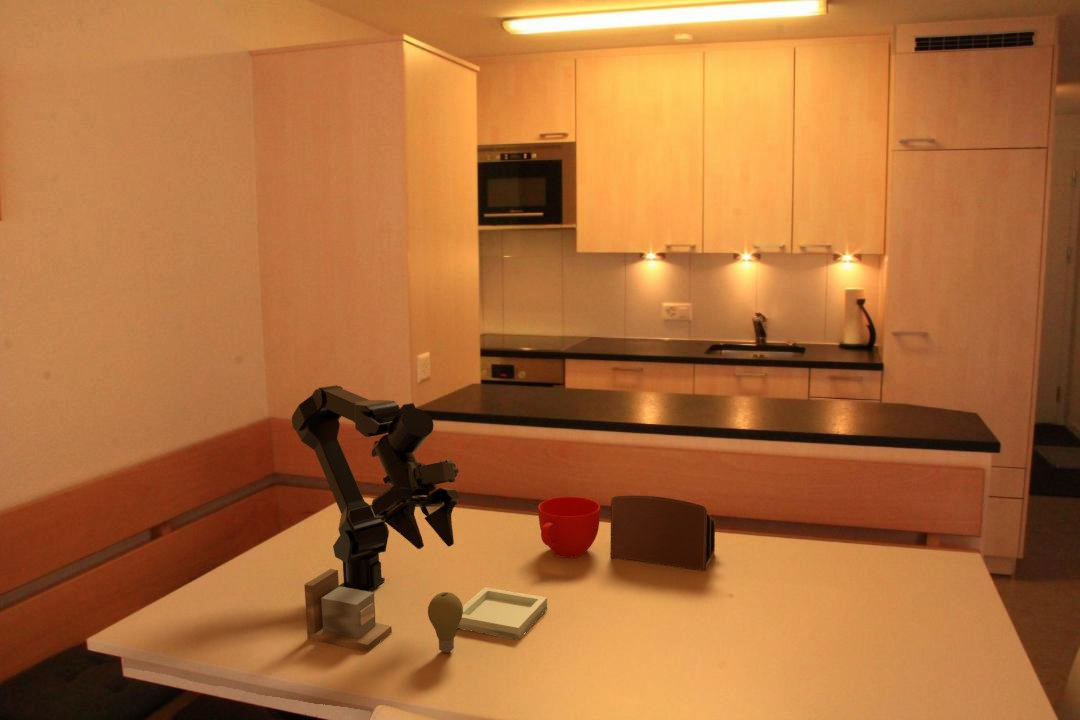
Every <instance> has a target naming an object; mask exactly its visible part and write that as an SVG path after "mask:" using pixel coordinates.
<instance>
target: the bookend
mask: <svg viewBox="0 0 1080 720" xmlns="http://www.w3.org/2000/svg"><path fill="white" fill-rule="evenodd" d="M339 580H340V579H339V570H338V569H333V568H330V569H327V570H325V572H323V573H320V574H319V575H318V576H316V577H314V578H312V579H311V580H309V581H308V582H306V583H304V586H303V587H304V604H305V616H306V617H305V619H306V632H307V633H306V635H307V640H310V641H315V642H320V643H326V644H330V645H335V646H340V647H345V648H349V649H353V650H358V651H363V652H367V653H368V652H369V651H371V650H372V649H374V647H376V646H377V645H378V644H380V643H381V642H383V640H385V639H386V638H388V637H389V636H390V635H391V634H392V631H393V630H392V628H393V627H392V625H389V624H383V623H377V622H376V608H375V607H376V606H375V592H373V591H369V592H368V591H363V590H357V589H352V588H346V587H341V586H339V585H340V583H339ZM390 633H391V634H390ZM385 637H386V638H385ZM380 641H381V642H380ZM379 642H380V643H379Z"/></svg>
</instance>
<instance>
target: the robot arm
mask: <svg viewBox="0 0 1080 720" xmlns="http://www.w3.org/2000/svg"><path fill="white" fill-rule="evenodd" d="M341 417H343V418H345V419H347V420H349V421H351V422H353V423H354V428H355V430H356V431H358V432H359V433H360V434H362V436H364V437H365V438H373V437H378V436H381V435H383V436H381V437H380V439H379V440H375V441H374V443H373V448H372V449H371V457H372V458H374V457H378V459H379V461H380V463H381V467H382V468H383V470H384V472H385V474H386V476H385V477H383V478H382V481H383V482H384V484H385V485H390V487H388V489H386V490H385V491H384V492H382V493H381V494H379V495H378V496H376V497H375V498H374V499H372V501H371V504H370V503H368V502H367V501H365V499H364V496H363V494H362V492H361V490H360V487H359V486H358V482H357V480H356V478H355V476H354V474H353V472H352V469H351V467H350V464H349V462H348V460H347V457H346V456H345V453H344V451H343V448H342V445H341V444H340V442H339V439H338V436H339V431H340V426H341V423H340V419H341ZM291 423H292V428H293V430H294V431H295V432H296V433H297V435H298V437H299V439H300V441H301V442H302V443H303V444H305V445H306V446H308V447H309V448H311V449H312V450H314V451H313V452H314V453H315V454H316V458H317V459H318V463H319V464H320V467H321V469H322V471H323V473H324V476H325V478H326V479H325V480H327V483H328V485H329V489H330V491H331V493H332V496H333V497H334V500H335V503H336V504H337V507H338V510H339V512H340V519H339V524H338V525H339V526H338V528H337V529H338V532H339V536H338V537H337V539H336V541H335V543H334V544H333V546H332V548H333V553H334V557H335V558H337V559H338V560H340V561H341V562H342V574H343V582H342V583H341V584H340V583H339V586H341V587H346V588H352V589H357V590H363V591H368V592H372V591H373V590H374V589H375V588H377V587H378V586H380V585H381V584H383V582H385V581H386V579H385V577H382V562H381V561H380V554H381V553H386V552H387V546H388V541H389V535H390V531H389V527H390V528H392V529H393V530H395V531H396V533H397V532H398V533H399V534H400V536H402V537H403V538H404V539H405V540H407V542H409V543H410V544H411V545H413V546H414V547H415V548H416V549H417V550H420V549H422V548H424V546H425V545H424V540H423V537H422V535H421V531H420V529H419V524H418V522H417V519H416V516H415V510H416V508H420V511H421V512H422V514H423V515H424V516H425V517H424V520H425V521H426V522H427V523H428V525H429V526H430V527H431V529H432V530H433V531H434V532H435V533H436V534H437V535H438V537H439V538H440V539H441V541H442V542H444V544H445V545H446V546H447V547H452V546H453V545H454V544H455V540H454V531H453V522H452V513H453V511H454V508H455V507H456V506H457V505H458V502H459V501H460V499H461V498H460V496H459V494H458V492H457V490H456V489H453V488H451V487H439V488H438V486H437V485H440V484H445V483H455V482H456V477H457V475H458V473H459V468H457V467H456V463H454V462H453V460H451V459H446V460H440V461H439V462H435V463H429V464H425V463H423V462H418V460H417V458H416V455H415V454H414V453H415V452H416V451H417V450H418V449H419V448H420V447H421V446H422V444H423V443H424V442H425V441H426V440H427V438H428V437H429V436H430V435H431V434H432V432H433V431H434V426H435V425H434V421H433V418H432V417H431V415H429V414H428V413H427V412H426V411H424V410H422V409H420V408H417V407H416V406H415V404H414V402H409V403H405V404H402V405H401V407H400V405H399V403H397V402H396V401H395V400H388V399H387V400H386V399H369V398H366V397H363V396H360V395H358V394H356V393H355V392H351V391H348V390H346V389H344V388H343V387H342V386H341V385H337V384H335V385H334V384H333V385H328V386H327V385H326V386H320V387H318V388H317V389H315V390H314V391H313V393H312V394H311V396H309V397H307V398H306V399H305V400H303V401H302V402H301V403H299V404H298V405H297V407H296V408H295V411H294V412H293V414H292V417H291ZM434 490H435V491H434ZM430 492H432V493H430ZM388 526H389V527H388Z"/></svg>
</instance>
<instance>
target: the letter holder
mask: <svg viewBox="0 0 1080 720" xmlns="http://www.w3.org/2000/svg"><path fill="white" fill-rule="evenodd" d="M715 535H716V521H715V520H714V519H713V518H712V517H711V515H710V514H709V513H708V510H707V507H705V506H704V505H701V504H698V503H694V502H689V501H686V500H681V499H674V498H668V497H664V496H663V497H662V496H654V495H616V496H613V497H612V498H611V500H610V541H609V542H610V554H609V555H610V556H609V557H610V558H611V559H618V560H624V561H633V562H639V563H646V564H652V565H660V566H666V567H672V568H673V567H674V568H682V569H687V570H693V571H694V570H695V571H701V572H702V571H703V572H705V571H706V570H707V568H708V566H709V564H710V563H711V561H712V559H713V557H714V556H715V551H716V549H715V548H716V537H715Z"/></svg>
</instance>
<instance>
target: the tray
mask: <svg viewBox="0 0 1080 720" xmlns="http://www.w3.org/2000/svg"><path fill="white" fill-rule="evenodd" d="M462 606H463V614H462V618H461V620H460V623H459V625H458V627H457V628H461V629H460V630H462V629H465V630H464V631H467V630H472V631H476V632H475V633H478V632H480V633H479V634H483V633H485V634H484V635H488V634H489V636H493V635H495V636H494V637H499V636H500V638H504V637H506V639H509V638H510V639H511V640H515V641H520V640H521V638H522V637H523V636H525V634H526V633H527V632H528V631H529V630H530V629H531V627H532V626H533V625H534V624H535V623H536V622H537V621H538V620H539V619H540V618H541V617H542V616H543V614H544V613H545V612H546V611H547V610H548V597H547V596H540V595H534V594H527V593H522V592H516V591H509V590H504V589H498V588H493V587H492V588H491V587H483V588H482V589H481V590H480V591H478V593H477V594H475V595H474V596H473V597H472V598H471V599H469V601H467V602H465V604H464V605H462ZM546 609H547V610H546ZM545 610H546V611H545ZM544 611H545V612H544ZM543 612H544V613H543ZM542 613H543V614H542ZM540 616H541V617H540ZM539 617H540V618H539ZM538 618H539V619H538ZM537 619H538V620H537ZM536 620H537V621H536ZM535 621H536V622H535ZM534 622H535V623H534ZM533 623H534V624H533ZM532 624H533V625H532ZM530 626H531V627H530ZM529 628H530V629H529ZM528 629H529V630H528ZM527 630H528V631H527ZM472 631H471V632H472ZM526 631H527V632H526ZM525 632H526V633H525ZM524 633H525V634H524ZM519 639H520V640H519Z"/></svg>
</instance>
